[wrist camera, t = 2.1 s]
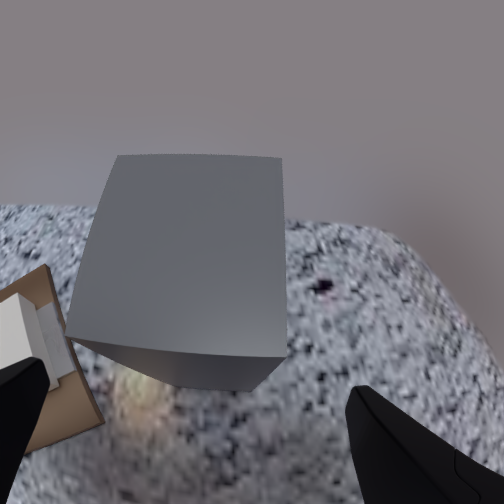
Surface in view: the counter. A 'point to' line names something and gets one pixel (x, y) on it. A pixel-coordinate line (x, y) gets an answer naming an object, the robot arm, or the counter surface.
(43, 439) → the board
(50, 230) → the counter surface
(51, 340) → the rail
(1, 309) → the terminal blocks
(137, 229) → the block
